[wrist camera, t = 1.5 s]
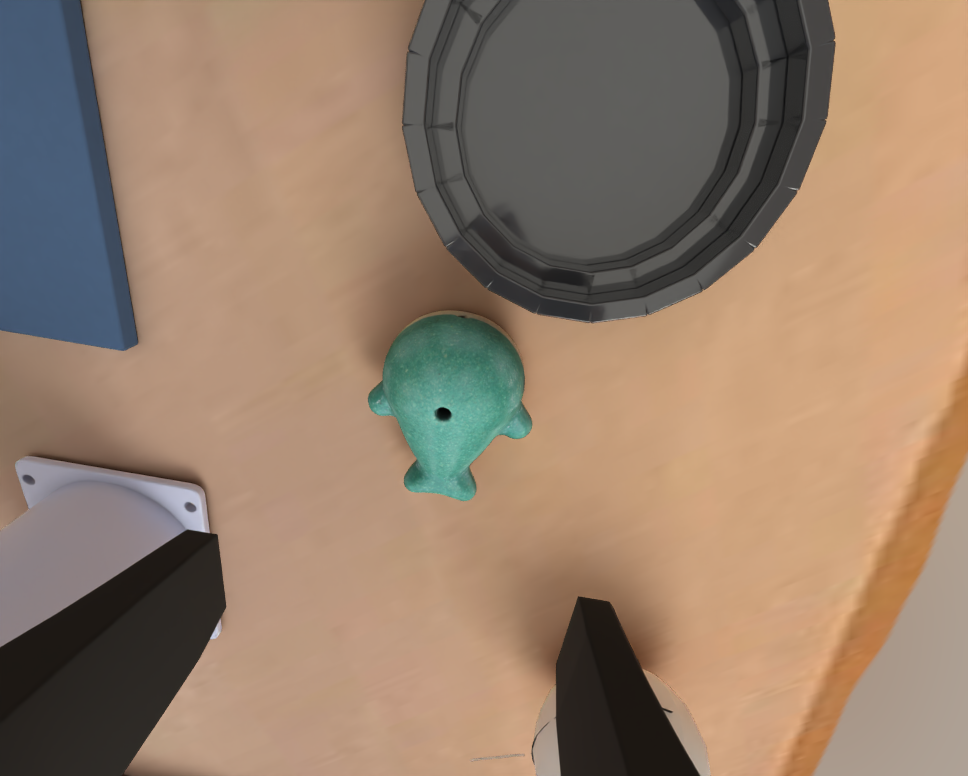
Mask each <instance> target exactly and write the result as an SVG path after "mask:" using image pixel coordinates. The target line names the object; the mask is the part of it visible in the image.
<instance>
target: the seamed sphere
mask: <svg viewBox="0 0 968 776" xmlns="http://www.w3.org/2000/svg"><path fill="white" fill-rule="evenodd" d="M642 670H643V672H644V674H645V676H646V678H647V680H648V682H649V684H650V686H651V688H652V689H653V691H654V693H655V695H656V697H657V699H658V701H659V703H660V704H661V706H662V708H663V710H664V712H665V714H666V716H667V717H668V719H669V721H670V723H671V725H672V727H673V729H674V730H675V732H676V734H677V736H678V738H679V739H680V741H681V743H682V745H683V746H684V748H685V750H686V752H687V754H688V755H689V757H690V759H691V760H692V762H693V764H694V765H695V767H696V769H697V771H698V772H699V774H700V776H711V774H710V767H709V760H708V754H707V747H706V745H705V743H704V740H703V738H702V736H701V734H700V732H699V730H698V728H697V725H696V723H695V721H694V719H693V717H692V715H691V713H690V712H689V710H688V708H687V706H686V704H685V703H684V702H683V701H682V700H681V699H680V698H679V697H678V695H677V694H676V693H675V692H674V691H673V690H672V689H671V688H670V687H669V686H668V685H667V684H666V683H665V682H664V681H662V680H661V679H660V678H659V677H657V676H656V675H655V674H653V673H651V672H649V671H646V670H644V669H642ZM516 756H525V754H513V755H504V756H496V757H484V758H476V759H470V761H478V760H487V759H498V758H506V757H516ZM532 760H533V762H534V765H535V770H536V776H561V773H560V762H559V751H558V740H557V728H556V684H555V685H554V686H553V687H552V689H551V690H550V692H549V694H548V696H547V698H546V699H545V701H544V703H543V705H542V707H541V709H540V713H539V716H538V719H537V722H536V728H535V735H534V742H533V745H532Z"/></svg>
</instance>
